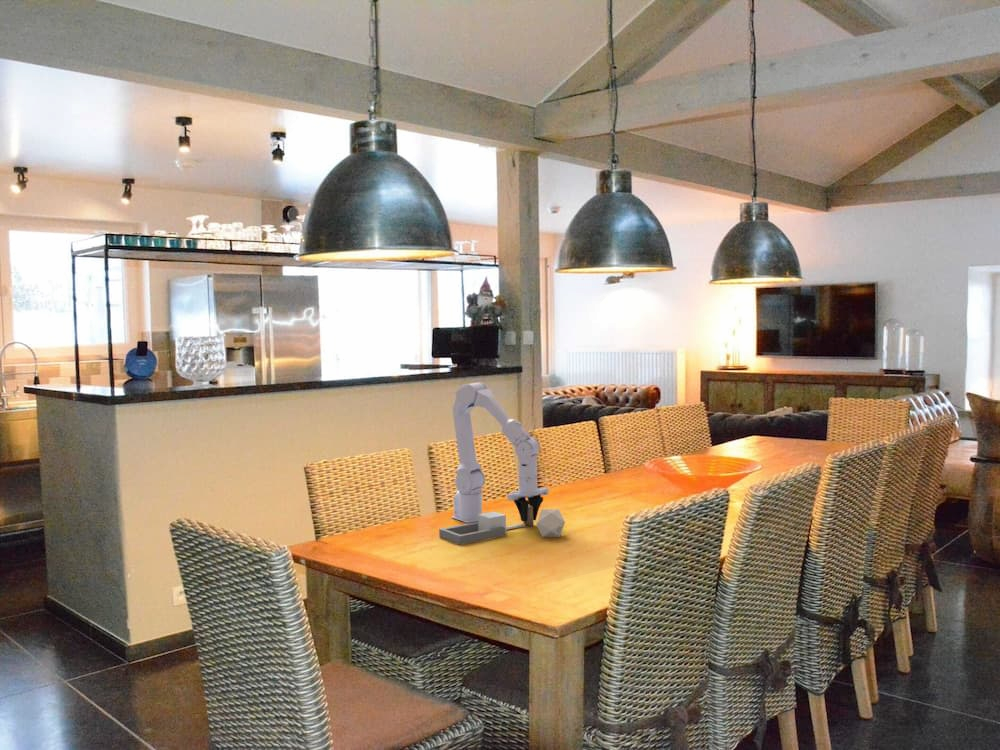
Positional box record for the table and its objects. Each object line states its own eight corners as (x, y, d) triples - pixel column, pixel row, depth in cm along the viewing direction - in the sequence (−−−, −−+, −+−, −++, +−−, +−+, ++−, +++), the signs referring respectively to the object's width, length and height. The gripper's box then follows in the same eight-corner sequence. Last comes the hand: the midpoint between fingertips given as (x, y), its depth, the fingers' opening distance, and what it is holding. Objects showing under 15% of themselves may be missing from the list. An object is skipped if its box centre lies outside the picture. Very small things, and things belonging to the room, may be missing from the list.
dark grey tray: (439, 537, 259) (439, 528, 258) (484, 528, 268) (484, 520, 268) (459, 544, 250) (459, 536, 250) (505, 535, 259) (505, 527, 259)
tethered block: (478, 532, 264) (478, 512, 263) (526, 522, 275) (526, 504, 274) (489, 536, 259) (489, 516, 258) (538, 526, 270) (538, 507, 269)
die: (556, 543, 252) (572, 514, 255) (530, 528, 254) (546, 499, 256) (554, 546, 260) (569, 518, 263) (529, 531, 261) (545, 503, 264)
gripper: (517, 482, 263) (517, 526, 264) (554, 476, 271) (554, 519, 272) (503, 478, 268) (504, 522, 269) (540, 473, 277) (540, 515, 278)
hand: (528, 520), depth 271 cm, fingers closed on tethered block, 3 cm apart
